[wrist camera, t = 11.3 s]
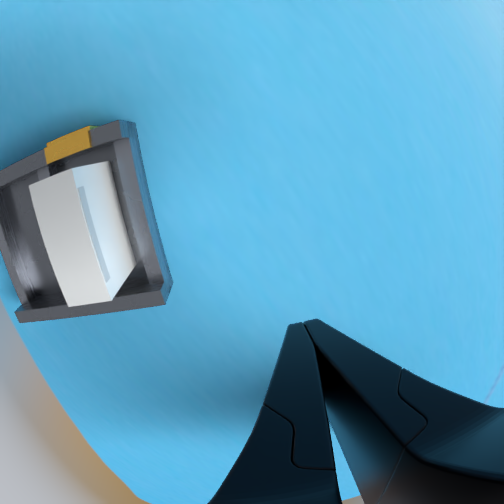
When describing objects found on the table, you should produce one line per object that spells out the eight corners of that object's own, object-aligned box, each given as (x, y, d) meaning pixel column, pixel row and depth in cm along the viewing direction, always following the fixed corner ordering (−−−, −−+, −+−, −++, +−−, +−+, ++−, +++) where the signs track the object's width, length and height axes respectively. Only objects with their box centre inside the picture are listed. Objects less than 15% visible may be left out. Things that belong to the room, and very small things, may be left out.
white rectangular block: (110, 160, 16) (72, 167, 12) (137, 263, 19) (112, 300, 14) (71, 173, 16) (27, 185, 12) (98, 271, 19) (67, 306, 14)
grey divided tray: (134, 118, 16) (117, 114, 13) (173, 282, 20) (164, 305, 17) (-4, 176, 16) (-29, 183, 13) (36, 304, 20) (18, 324, 17)
